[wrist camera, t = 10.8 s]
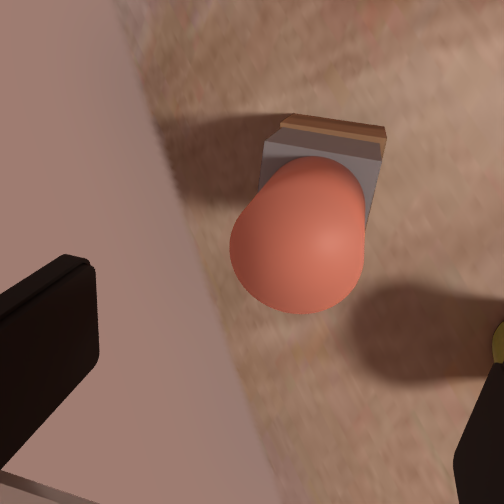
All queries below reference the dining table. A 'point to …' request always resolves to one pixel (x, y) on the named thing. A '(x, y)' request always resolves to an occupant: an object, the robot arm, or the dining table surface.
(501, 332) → the plant pot
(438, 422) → the dining table surface
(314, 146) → the tower top
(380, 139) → the tower base
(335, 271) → the cylinder
